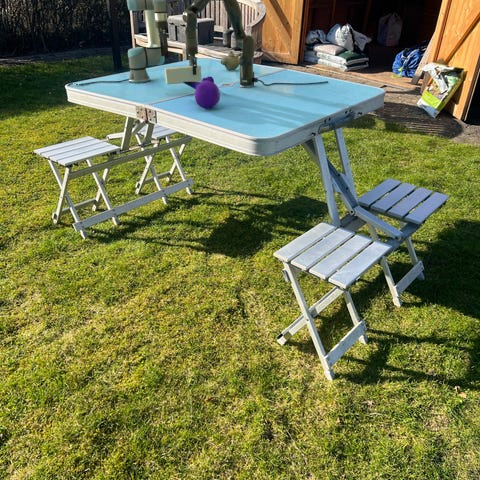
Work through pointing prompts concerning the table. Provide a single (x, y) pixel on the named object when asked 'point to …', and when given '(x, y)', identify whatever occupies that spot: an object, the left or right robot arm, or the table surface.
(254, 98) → the table surface
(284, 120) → the table surface
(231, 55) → the teapot
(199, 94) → the toy
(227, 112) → the table surface
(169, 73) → the bar
